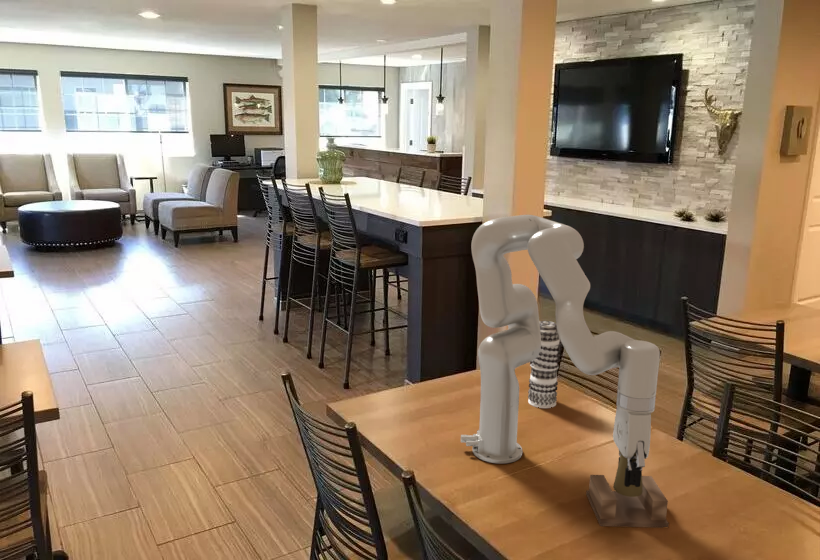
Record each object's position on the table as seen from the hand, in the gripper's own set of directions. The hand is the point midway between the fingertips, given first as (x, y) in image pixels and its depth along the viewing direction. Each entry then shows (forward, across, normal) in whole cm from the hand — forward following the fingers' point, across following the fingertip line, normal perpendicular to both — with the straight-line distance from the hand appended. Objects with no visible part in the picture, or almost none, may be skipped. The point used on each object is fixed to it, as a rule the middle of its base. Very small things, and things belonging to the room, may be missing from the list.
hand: (628, 479), depth 138 cm
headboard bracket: (+7, 0, 0) cm, 7 cm away
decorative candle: (+7, -57, -8) cm, 58 cm away
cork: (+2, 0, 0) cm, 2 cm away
